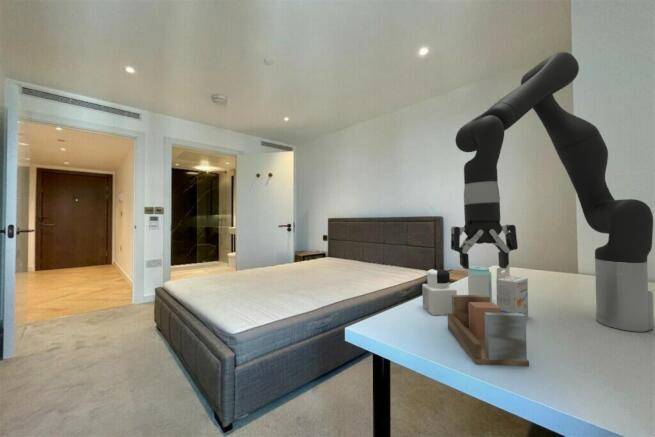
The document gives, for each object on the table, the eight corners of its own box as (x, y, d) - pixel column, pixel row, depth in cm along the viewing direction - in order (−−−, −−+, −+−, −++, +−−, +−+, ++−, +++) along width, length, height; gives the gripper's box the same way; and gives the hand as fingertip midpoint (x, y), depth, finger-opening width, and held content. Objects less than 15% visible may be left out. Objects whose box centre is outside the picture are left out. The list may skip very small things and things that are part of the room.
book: (492, 329, 66) (491, 302, 66) (501, 337, 61) (500, 307, 61) (469, 329, 66) (468, 301, 66) (476, 336, 62) (475, 307, 62)
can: (464, 301, 91) (463, 267, 91) (476, 298, 94) (475, 265, 94) (484, 307, 85) (483, 270, 85) (496, 303, 88) (495, 268, 88)
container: (445, 306, 87) (444, 267, 87) (457, 314, 79) (456, 272, 79) (422, 307, 86) (421, 268, 86) (432, 315, 79) (431, 272, 79)
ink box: (516, 324, 71) (515, 270, 71) (496, 319, 75) (495, 268, 75) (529, 317, 75) (527, 266, 75) (509, 312, 79) (508, 264, 79)
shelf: (487, 329, 68) (486, 291, 68) (529, 366, 51) (527, 315, 51) (447, 328, 69) (446, 291, 69) (475, 363, 53) (474, 314, 53)
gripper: (504, 201, 66) (506, 264, 66) (445, 204, 68) (448, 265, 68) (522, 199, 59) (525, 270, 59) (456, 202, 61) (459, 271, 60)
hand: (484, 268), depth 63 cm, fingers open, 8 cm apart
